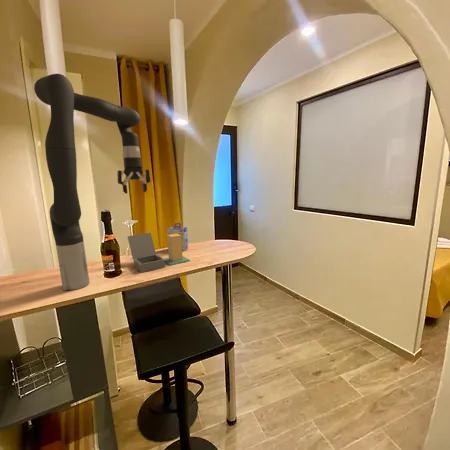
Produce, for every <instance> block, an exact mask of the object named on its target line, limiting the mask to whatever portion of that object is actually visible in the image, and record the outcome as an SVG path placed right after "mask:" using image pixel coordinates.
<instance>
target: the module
mask: <svg viewBox="0 0 450 450" xmlns="http://www.w3.org/2000/svg"><path fill="white" fill-rule="evenodd" d="M166 238H167V251H168V258H169V260H171V261H172V262H174V261H179V260H183V257H182V256H183V251H182V242H181V235H179V234H171V235H168V234H167V235H166Z"/></svg>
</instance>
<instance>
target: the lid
mask: <svg viewBox="0 0 450 450" xmlns="http://www.w3.org/2000/svg"><path fill="white" fill-rule="evenodd" d="M127 241H128V244H129V248H130V252H131V253H130V254H131V257H132V259H134V258H139V257H144V256H149V255H154V254H157V252H156V248H155V243H154V241H153V235H152V233H151V232H146V233H140V234H134V235H128V236H127Z"/></svg>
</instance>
